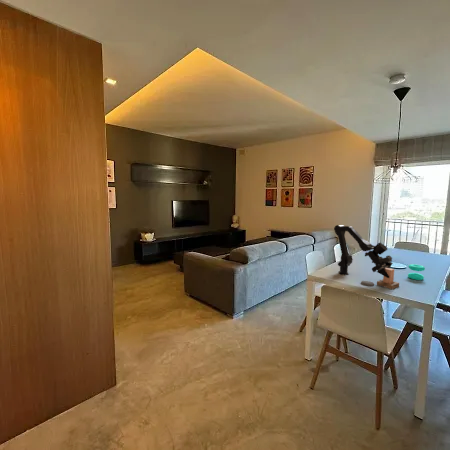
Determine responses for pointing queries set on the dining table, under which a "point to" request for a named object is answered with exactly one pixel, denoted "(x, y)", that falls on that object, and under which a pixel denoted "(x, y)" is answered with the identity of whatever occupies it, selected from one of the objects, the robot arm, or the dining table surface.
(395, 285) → the socket plate
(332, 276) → the dining table surface
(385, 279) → the peg
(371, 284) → the pad
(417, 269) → the donuts
